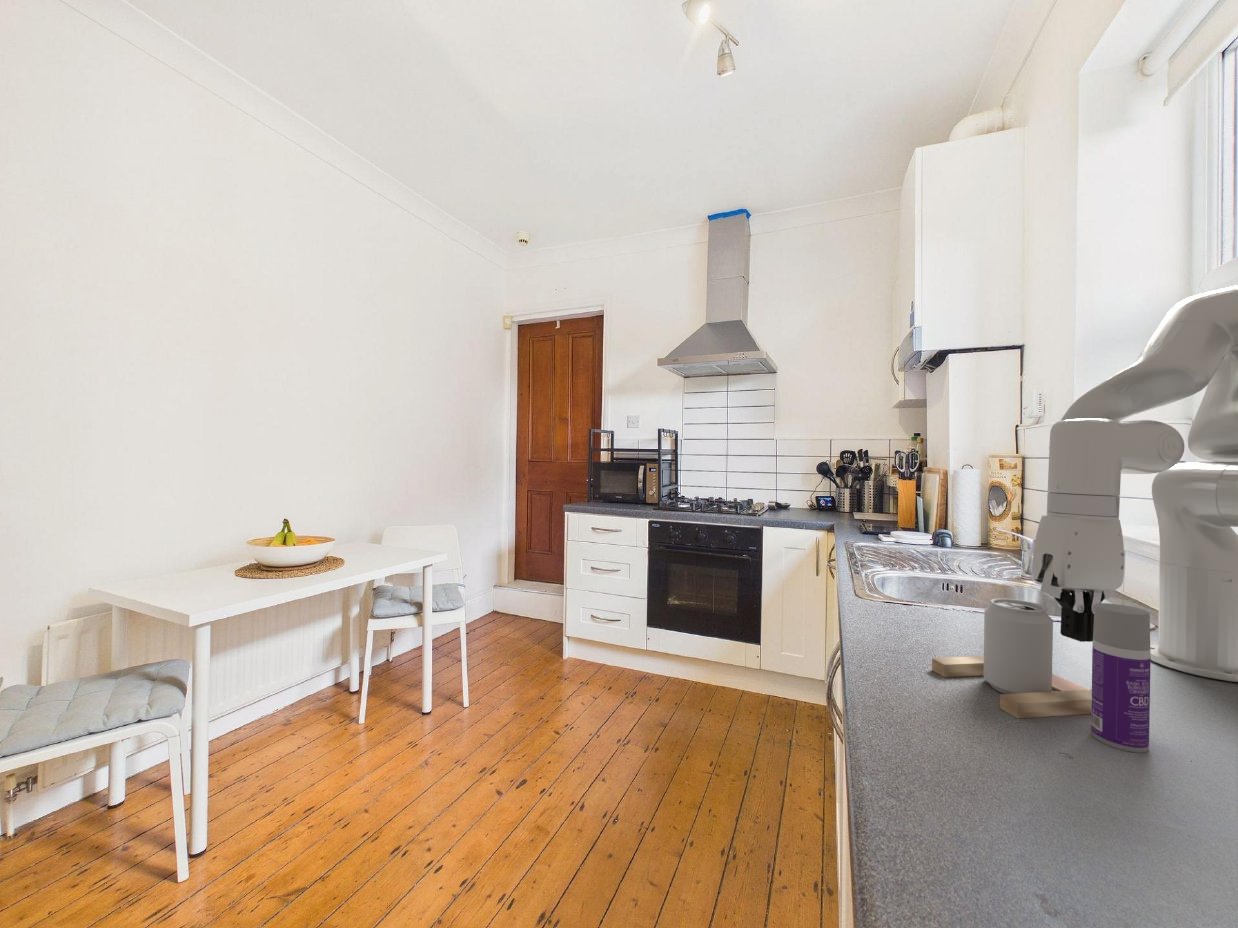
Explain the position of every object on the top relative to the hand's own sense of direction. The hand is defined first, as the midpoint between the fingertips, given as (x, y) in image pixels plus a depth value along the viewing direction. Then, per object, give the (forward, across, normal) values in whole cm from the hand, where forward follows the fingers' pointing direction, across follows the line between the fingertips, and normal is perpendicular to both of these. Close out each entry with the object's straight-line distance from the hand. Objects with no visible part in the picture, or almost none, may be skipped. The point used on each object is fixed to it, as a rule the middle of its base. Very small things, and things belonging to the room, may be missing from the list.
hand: (1076, 638), depth 72 cm
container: (+7, +9, +13) cm, 17 cm away
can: (+7, +9, 0) cm, 12 cm away
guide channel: (+7, +8, 0) cm, 11 cm away
